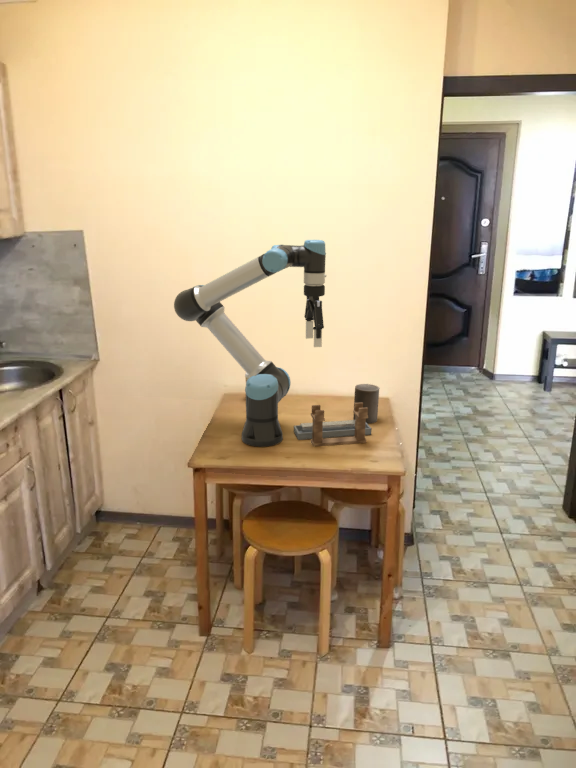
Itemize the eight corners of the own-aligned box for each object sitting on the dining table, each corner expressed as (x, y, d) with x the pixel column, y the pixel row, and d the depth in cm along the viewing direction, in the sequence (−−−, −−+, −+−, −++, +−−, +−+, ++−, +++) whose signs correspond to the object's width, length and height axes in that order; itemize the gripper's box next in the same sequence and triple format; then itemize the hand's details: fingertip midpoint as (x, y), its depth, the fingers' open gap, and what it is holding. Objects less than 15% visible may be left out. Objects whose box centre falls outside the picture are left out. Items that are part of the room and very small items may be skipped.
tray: (298, 439, 227) (298, 433, 226) (293, 431, 234) (293, 425, 233) (371, 434, 232) (371, 428, 231) (364, 426, 239) (364, 420, 238)
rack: (313, 447, 220) (314, 411, 215) (309, 440, 226) (310, 405, 222) (367, 443, 223) (369, 408, 219) (362, 437, 229) (363, 402, 225)
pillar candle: (355, 423, 242) (356, 387, 238) (351, 415, 252) (353, 380, 247) (379, 424, 243) (381, 388, 238) (375, 415, 252) (377, 380, 247)
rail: (302, 435, 229) (302, 426, 228) (300, 432, 232) (300, 423, 231) (364, 431, 233) (364, 422, 232) (361, 428, 237) (361, 419, 236)
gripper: (333, 289, 208) (331, 350, 214) (316, 279, 231) (315, 334, 237) (311, 289, 206) (310, 351, 213) (297, 279, 230) (296, 335, 236)
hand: (313, 342), depth 225 cm, fingers open, 13 cm apart
